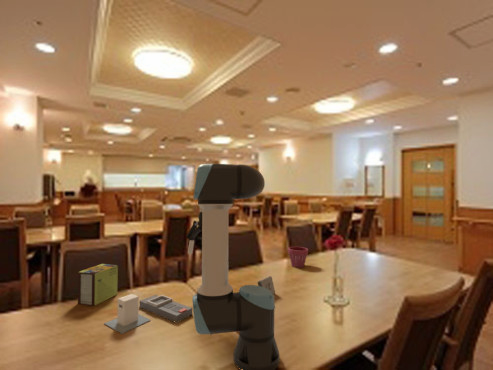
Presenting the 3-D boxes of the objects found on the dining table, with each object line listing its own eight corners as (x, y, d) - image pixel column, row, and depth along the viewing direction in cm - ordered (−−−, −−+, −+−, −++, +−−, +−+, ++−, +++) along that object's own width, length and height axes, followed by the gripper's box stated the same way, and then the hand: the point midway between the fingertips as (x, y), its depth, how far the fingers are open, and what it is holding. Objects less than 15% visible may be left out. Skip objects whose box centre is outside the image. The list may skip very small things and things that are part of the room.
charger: (138, 320, 115) (138, 296, 115) (123, 326, 110) (124, 301, 110) (131, 316, 118) (131, 293, 118) (117, 322, 113) (117, 298, 113)
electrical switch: (265, 299, 139) (264, 280, 140) (257, 297, 142) (256, 279, 143) (275, 293, 146) (274, 276, 147) (267, 292, 150) (266, 275, 150)
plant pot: (310, 265, 201) (310, 247, 201) (303, 269, 189) (304, 251, 189) (292, 262, 209) (292, 245, 209) (285, 266, 197) (285, 249, 197)
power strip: (192, 314, 121) (192, 305, 121) (176, 322, 114) (176, 312, 114) (155, 300, 136) (155, 292, 136) (139, 307, 129) (139, 298, 129)
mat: (150, 320, 116) (150, 319, 116) (121, 333, 105) (121, 332, 105) (132, 312, 123) (132, 311, 123) (104, 324, 112) (104, 323, 112)
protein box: (117, 294, 144) (118, 264, 144) (94, 306, 129) (94, 273, 130) (101, 292, 147) (102, 263, 147) (77, 303, 132) (77, 271, 132)
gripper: (231, 215, 133) (225, 259, 129) (193, 211, 146) (186, 252, 142) (222, 213, 127) (215, 259, 123) (183, 209, 140) (176, 251, 136)
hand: (200, 255), depth 133 cm, fingers open, 13 cm apart
